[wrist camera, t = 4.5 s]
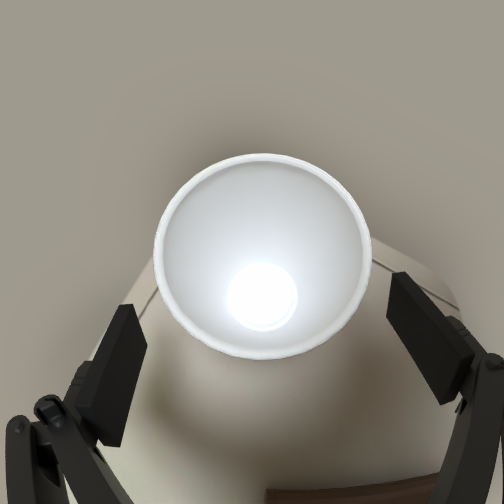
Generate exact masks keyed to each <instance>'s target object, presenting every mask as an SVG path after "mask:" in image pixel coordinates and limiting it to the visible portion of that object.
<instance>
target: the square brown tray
mask: <svg viewBox="0 0 504 504" xmlns="http://www.w3.org/2000/svg"><path fill="white" fill-rule="evenodd" d="M438 476H439V473H435V474H431V475H427V476H422V477H418V478H413V479H408V480H402V481H397V482H390V483H384V484H377V485H369V486H360V487H350V488H338V489H320V490H269V489H267V490H266V494H265V504H427V503H428V501H429V499H430V496H431V494H432V491H433V489H434V486H435V484H436V481H437V478H438Z"/></svg>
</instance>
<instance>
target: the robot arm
mask: <svg viewBox="0 0 504 504" xmlns="http://www.w3.org/2000/svg"><path fill="white" fill-rule="evenodd" d="M386 318H387V319H388V321H389V322H390V324H391V325H392V327H393V328H394V330H395V331H396V333H397V334H398V336H399V338H400V339H401V341H402V342H403V344H404V345H405V347H406V349H407V350H408V352H409V353H410V355H411V357H412V358H413V360H414V362H415V363H416V365H417V367H418V368H419V370H420V371H421V373H422V375H423V376H424V378H425V380H426V382H427V383H428V385H429V387H430V388H431V390H432V392H433V393H434V395H435V397H436V399H437V400H438V402H439V404H440V405H443V404H446V403H448V402H451V401H453V400H455V398H456V396H457V394H458V392H459V391H460V393H461V395H462V396H463V397H462V399H461V401H460V403H459V405H458V406H457V408H456V410H455V413H457V411H458V413H457V417H456V421H455V425H454V429H453V432H452V436H451V439H450V443H449V446H448V449H447V452H446V456H445V459H444V462H443V464H442V467H441V470H440V473H439V476H438V478H437V481H436V484H435V486H434V489H433V491H432V494H431V496H430V499H429V501H428V503H427V504H485V502H486V499H487V496H488V492H489V488H490V484H491V480H492V476H493V472H494V468H495V462H496V458H497V453H498V447H499V442H500V435H501V444H502V461H503V462H502V463H503V499H502V504H504V359H503V358H502V357H501V356H499V355H497V354H494V353H487V352H486V351H485V350H484V349H483V347H482V346H481V345H480V344H479V342H477V340H476V339H475V338H474V337H473V336H472V335H471V333H470V332H469V331H468V330H467V329H466V327H465V326H464V325H463V324H462V323H461V321H460V320H458V319H456V318H455V317H453V316H447V317H445V316H444V314H443V313H442V312H441V311H440V310H439V309H438V307H437V306H436V305H435V304H434V303H433V302H432V301H431V300H430V298H429V297H428V296H427V295H426V294H425V293H424V292H423V291H422V289H421V288H420V287H419V286H418V285H417V284H416V283H415V282H414V281H413V280H412V279H411V277H410V276H409V275H408V274H407V273H406V272H405V271H404V272H398V273H392V280H391V287H390V295H389V302H388V308H387V314H386ZM147 346H148V345H147V343H146V340H145V337H144V334H143V332H142V329H141V326H140V323H139V320H138V318H137V315H136V312H135V309H134V306H133V304H124V305H119V307H118V309H117V310H116V312H115V314H114V316H113V319H112V321H111V323H110V325H109V327H108V329H107V331H106V333H105V335H104V337H103V339H102V341H101V343H100V345H99V348H98V350H97V352H96V354H95V356H94V359H93V361H84V363H83V364H82V365H81V366H80V367H79V368H78V369H77V372H76V373H75V376H74V378H73V380H72V382H71V385H70V387H69V389H68V391H67V393H66V395H65V398H64V400H63V402H62V401H61V400H60V398H59V397H58V396H56V395H46V396H44V397H42V398H40V399H39V400H38V402H37V403H36V404H35V406H34V414H35V415H36V417H37V418H38V419H39V420H40V421H38V422H30V421H29V419H27V417H26V416H23V415H17V416H15V417H13V418H12V419H11V420H10V421H9V422H8V424H7V427H6V447H5V448H6V451H5V453H6V454H5V455H6V456H5V457H6V485H7V498H8V504H69V499H68V495H67V490H66V485H65V480H64V476H65V478H66V480H67V482H68V484H69V486H70V489H71V491H72V493H73V495H74V497H75V498H76V500H77V502H78V504H134V503H133V501H132V500H131V499H130V497H129V496H128V494H127V493H126V492H125V490H124V489H123V487H122V486H121V484H120V483H119V481H118V480H117V478H116V477H115V475H114V473H113V472H112V470H111V469H110V467H109V465H108V464H107V462H106V460H105V459H104V457H103V455H102V454H101V452H100V450H99V449H98V448H97V446H96V444H97V440H98V439H99V440H100V442H101V443H102V444H103V445H104V446H110V447H120V446H121V441H122V437H123V433H124V429H125V425H126V421H127V417H128V413H129V410H130V406H131V402H132V398H133V395H134V391H135V387H136V384H137V380H138V377H139V373H140V370H141V366H142V363H143V359H144V356H145V353H146V349H147Z"/></svg>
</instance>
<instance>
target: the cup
mask: <svg viewBox="0 0 504 504" xmlns="http://www.w3.org/2000/svg"><path fill="white" fill-rule="evenodd" d="M153 263H154V270H155V278H156V282H157V285H158V288H159V290H160V293H161V296H162V299H163V301H164V302H165V304H166V306H167V307H168V309H169V310H170V312H171V314H172V315H173V317H174V318H175V319H176V320H177V322H178V323H179V324H180V325H181V326H182V327H183V328H184V329H185V330H186V331H187V332H188V333H189V334H190V335H191V336H193V337H194V338H196V339H197V340H199V341H201V342H202V343H204V344H205V345H207V346H208V347H210V348H212V349H214V350H217V351H220V352H222V353H225V354H227V355H230V356H233V357H239V358H245V359H251V360H274V359H283V358H287V357H291V356H295V355H298V354H302V353H305V352H307V351H309V350H311V349H313V348H315V347H317V346H319V345H321V344H323V343H324V342H326V341H327V340H328V339H330V338H331V337H332V336H333V335H334V334H336V333H337V332H338V331H339V330H341V329H342V328H343V327H344V326H345V324H346V323H347V322H348V321H349V319H350V318H351V317H352V316H353V314H354V313H355V312H356V310H357V309H358V307H359V305H360V303H361V301H362V299H363V297H364V295H365V293H366V290H367V286H368V283H369V279H370V274H371V270H372V246H371V240H370V235H369V230H368V227H367V225H366V222H365V219H364V217H363V214H362V212H361V210H360V208H359V207H358V205H357V204H356V202H355V201H354V199H353V198H352V196H351V195H350V194H349V193H348V191H347V190H346V189H345V188H344V187H343V186H342V185H341V184H340V183H339V182H338V181H337V180H335V179H334V178H333V177H331V176H330V175H329V174H327V173H326V172H325V171H323V170H322V169H320V168H318V167H315V166H314V165H312V164H310V163H308V162H305V161H303V160H299V159H296V158H293V157H289V156H285V155H277V154H268V153H263V154H247V155H242V156H237V157H232V158H229V159H226V160H223V161H221V162H219V163H216V164H213V165H211V166H209V167H208V168H206V169H204V170H203V171H201V172H200V173H198V174H196V175H195V176H194V177H193V178H191V179H190V180H189V181H188V182H187V183H186V184H185V185H184V186H182V187H181V188H180V190H179V191H178V192H177V194H176V195H175V196H174V197H173V199H172V200H171V201H170V202H169V204H168V206H167V208H166V210H165V212H164V214H163V216H162V218H161V220H160V222H159V226H158V229H157V233H156V236H155V241H154V254H153Z"/></svg>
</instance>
